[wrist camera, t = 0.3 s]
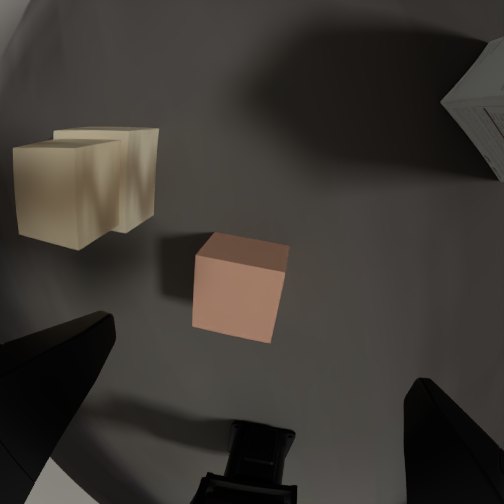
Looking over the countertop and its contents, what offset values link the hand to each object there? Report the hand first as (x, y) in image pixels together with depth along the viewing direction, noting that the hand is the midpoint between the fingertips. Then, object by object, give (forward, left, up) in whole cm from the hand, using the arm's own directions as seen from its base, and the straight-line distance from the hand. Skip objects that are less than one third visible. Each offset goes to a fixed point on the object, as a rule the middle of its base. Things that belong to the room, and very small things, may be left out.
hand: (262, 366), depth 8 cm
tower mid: (+2, +12, -9) cm, 15 cm away
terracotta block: (-4, +2, -13) cm, 14 cm away
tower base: (+2, +12, -13) cm, 18 cm away
